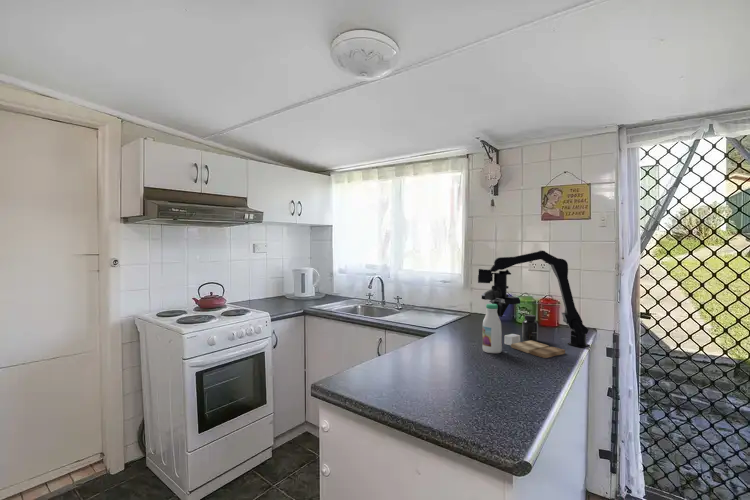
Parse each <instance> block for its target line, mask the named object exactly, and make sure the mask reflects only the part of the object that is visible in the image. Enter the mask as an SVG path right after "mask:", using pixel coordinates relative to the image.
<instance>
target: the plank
mask: <svg viewBox="0 0 750 500" xmlns="http://www.w3.org/2000/svg"><path fill="white" fill-rule="evenodd" d="M547 347H550V346H549V345H548V344H545V343H541V342H538V341H537V342H535V341H532V340H530V341H520V342H519V343H514V344H511V346H510V348H512V349H514V350H518V351H520V352H524V353H526V354H530V352H532V350H537V349H542V348H547Z"/></svg>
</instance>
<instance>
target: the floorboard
mask: <svg viewBox="0 0 750 500" xmlns="http://www.w3.org/2000/svg"><path fill="white" fill-rule="evenodd" d="M529 354H530V355H532V356H536V357H540V358H543V359H547V358H552V357H556V356H561V355H565V354H566V349H563V348H559V347H557V346H556V347H554V346H549V347H547V348H542V349H537V350H532V352H530V353H529Z"/></svg>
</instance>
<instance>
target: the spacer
mask: <svg viewBox="0 0 750 500" xmlns="http://www.w3.org/2000/svg"><path fill="white" fill-rule="evenodd" d="M503 340H504V345H508V346H510V347H511V344H514V343H519V342H521V335H519V334H515V333H510V334H505V335H504V338H503Z"/></svg>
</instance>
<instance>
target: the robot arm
mask: <svg viewBox="0 0 750 500" xmlns="http://www.w3.org/2000/svg"><path fill="white" fill-rule="evenodd" d="M539 260H542V261H543V262H545V263H546V264H548V265H550V267H551V269H552V271H553V273H554V276H555V277H556V279H557V282H558V286H559V290H560V294H561V298H562V303H563V305H564V312H561V315H562V318H563V323H565V324H566V325H567V326H568V327H569V329H570V342H567V345H570V346H573V347H577V348H581V349H582V348H586V347H591V346H590V344H588V343H587V334H588V333H589V328H587V326H586V325H584V324H583V322H584V321H583V320H582V318H581V316H580V314H579V311H578V310H577V308H576V306H575V301H574V297H573V293H572V290H571V285H570V282H569V278H568V277H569V276H568V275H569V265H568V262H567V260H566V259H563V258H557V257H556V256H554V255H552V254H550V253H548V252H547V251H545V250H539V251H534V252H531V253H525V254H521V255H516V256H515V255H514V256H504V257H503V256H501V257H500V256H499V257H497V258H495V259H494V261H493V265H492V266H491V267H490V269H485V268H483V269H482V268H478V275H477V283H478V284H491V282H493V285H491V289H488V290H487V291H485V292H484V293H482V294H481V300H484V301H488V300H489V303H490V304H497V305H498V308H497V309H498V310H497V314H498V316H499V318H502V317H503V316H504V314H505V312H506V310H507V308H508V307H509V305H518V304H519V305H520V304H521V299H520V297H517V296H509V295H508V293H507V289H509V285H508V283H507V282H508V280H507V279H508V275H509V276H510V275H512V273H511V272H510V270H509V269H508V268H511V267H513V266H516V265H519V264H523V263H530V262H534V261H539ZM505 269H506V270H505ZM497 271H498V272H497Z"/></svg>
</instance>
